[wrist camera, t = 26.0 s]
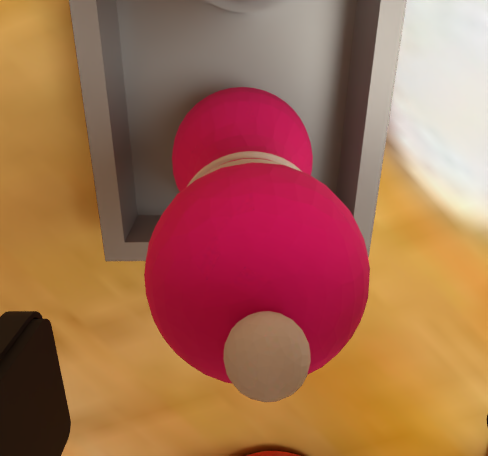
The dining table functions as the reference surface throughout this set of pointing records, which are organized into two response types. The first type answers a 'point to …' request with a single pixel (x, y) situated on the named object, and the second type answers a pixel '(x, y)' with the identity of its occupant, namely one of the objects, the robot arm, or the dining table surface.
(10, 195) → the dining table surface
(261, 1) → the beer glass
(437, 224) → the dining table surface
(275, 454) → the plant pot
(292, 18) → the tote
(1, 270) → the dining table surface
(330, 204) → the pepper mill
